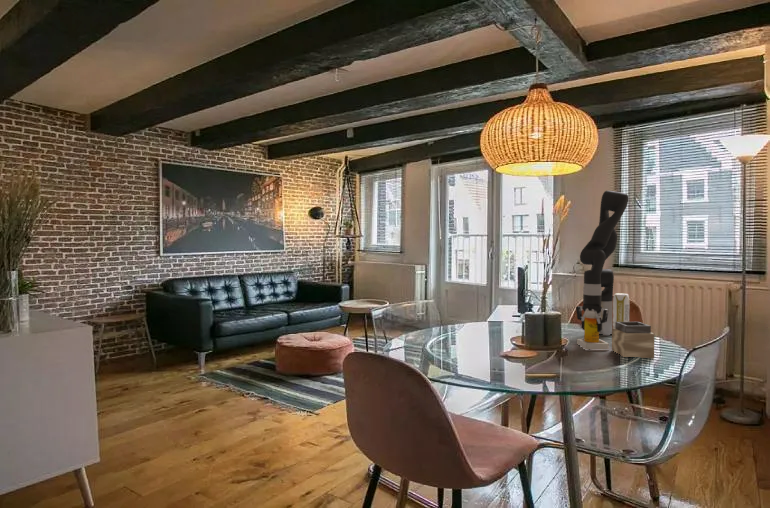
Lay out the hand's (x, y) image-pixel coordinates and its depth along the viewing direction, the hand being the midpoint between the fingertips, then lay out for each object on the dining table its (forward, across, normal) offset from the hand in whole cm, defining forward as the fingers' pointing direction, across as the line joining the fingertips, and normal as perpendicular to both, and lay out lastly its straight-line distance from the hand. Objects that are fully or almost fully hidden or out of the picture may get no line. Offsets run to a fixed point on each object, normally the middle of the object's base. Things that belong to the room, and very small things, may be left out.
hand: (591, 330), depth 218 cm
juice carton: (+8, -7, +52) cm, 53 cm away
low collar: (+8, 0, 0) cm, 8 cm away
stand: (+8, +18, 0) cm, 19 cm away
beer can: (+6, 0, 0) cm, 6 cm away
